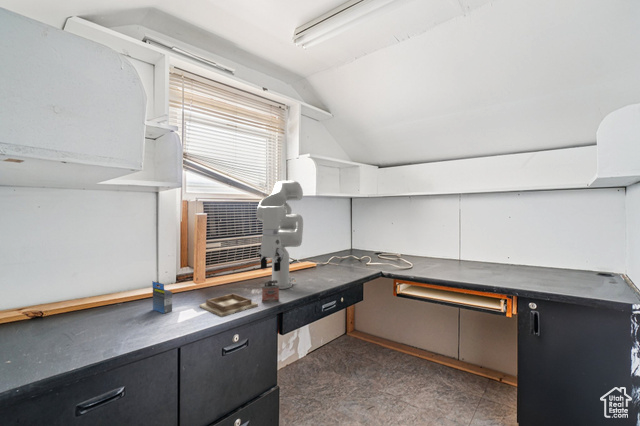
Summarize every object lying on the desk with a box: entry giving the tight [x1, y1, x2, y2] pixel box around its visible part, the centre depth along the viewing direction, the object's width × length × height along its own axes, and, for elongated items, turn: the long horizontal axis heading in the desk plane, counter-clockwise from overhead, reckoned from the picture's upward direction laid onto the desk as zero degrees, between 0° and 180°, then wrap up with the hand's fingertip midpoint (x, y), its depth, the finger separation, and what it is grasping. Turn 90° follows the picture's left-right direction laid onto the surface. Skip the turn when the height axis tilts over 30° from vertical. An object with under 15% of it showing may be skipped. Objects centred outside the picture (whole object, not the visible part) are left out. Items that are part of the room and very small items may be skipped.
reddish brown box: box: [261, 279, 280, 304], centre depth 143 cm, size 8×3×10 cm, turn 105°
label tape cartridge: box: [152, 281, 173, 314], centre depth 130 cm, size 9×4×12 cm, turn 58°
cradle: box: [199, 292, 259, 317], centre depth 136 cm, size 18×18×3 cm
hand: (270, 269), depth 142 cm, fingers open, 9 cm apart
